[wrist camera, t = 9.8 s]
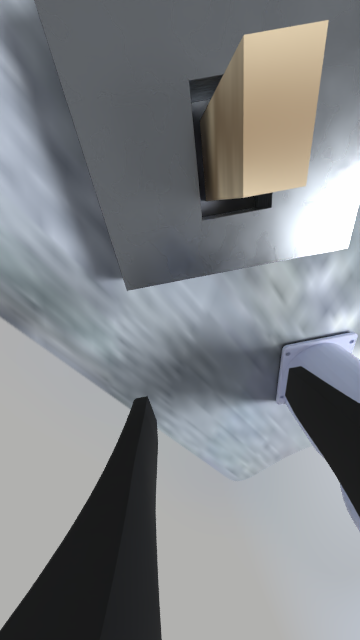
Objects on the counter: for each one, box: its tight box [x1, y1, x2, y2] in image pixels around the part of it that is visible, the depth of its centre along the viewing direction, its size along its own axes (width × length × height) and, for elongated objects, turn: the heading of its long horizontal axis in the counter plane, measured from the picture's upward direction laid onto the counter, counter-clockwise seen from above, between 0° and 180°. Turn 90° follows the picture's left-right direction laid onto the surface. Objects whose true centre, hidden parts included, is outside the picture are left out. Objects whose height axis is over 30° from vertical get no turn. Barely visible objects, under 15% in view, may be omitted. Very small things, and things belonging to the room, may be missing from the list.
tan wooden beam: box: [200, 20, 329, 201], centre depth 10 cm, size 4×3×7 cm, turn 9°
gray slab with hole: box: [34, 0, 360, 291], centre depth 12 cm, size 13×16×2 cm
